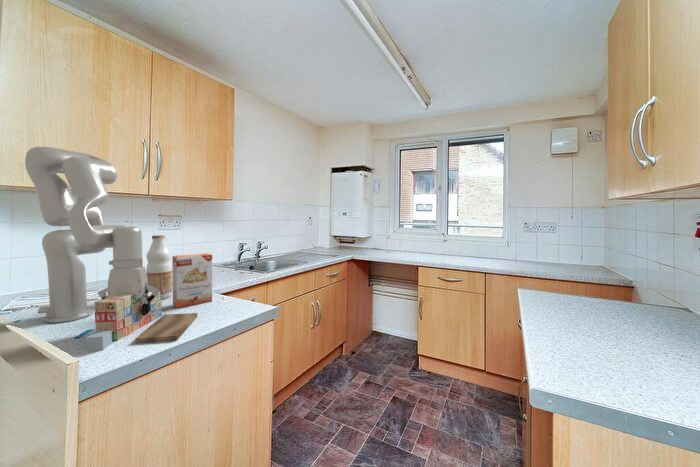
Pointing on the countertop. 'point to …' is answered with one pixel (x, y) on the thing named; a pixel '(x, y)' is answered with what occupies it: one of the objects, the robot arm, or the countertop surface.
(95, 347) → the slate cube
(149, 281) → the fruit juice
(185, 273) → the cracker box
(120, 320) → the stack of blocks
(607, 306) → the countertop surface
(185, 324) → the walnut board
